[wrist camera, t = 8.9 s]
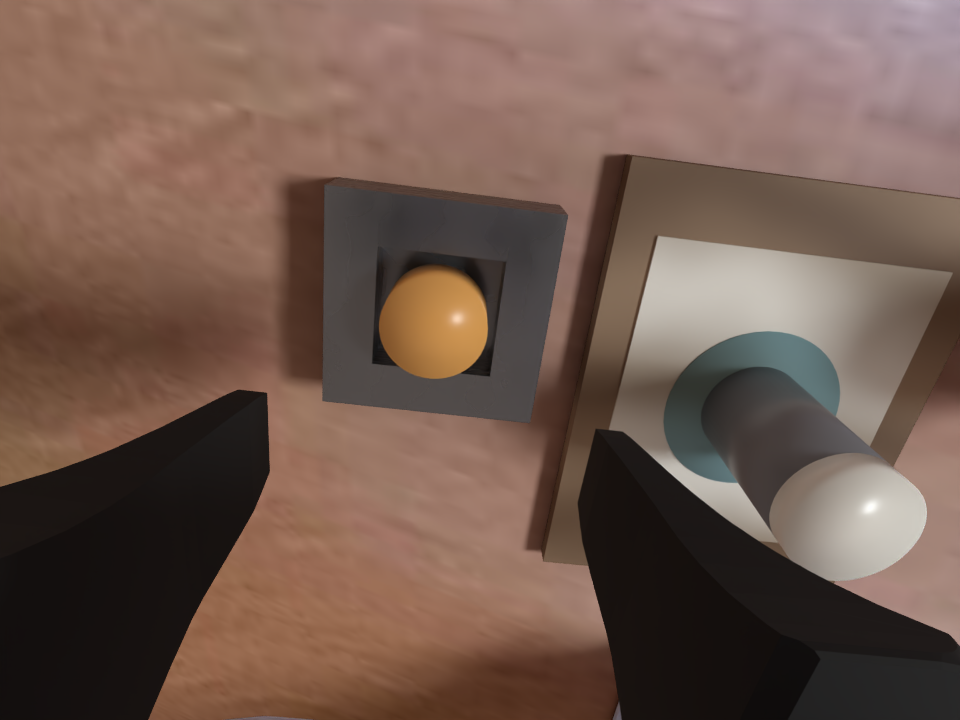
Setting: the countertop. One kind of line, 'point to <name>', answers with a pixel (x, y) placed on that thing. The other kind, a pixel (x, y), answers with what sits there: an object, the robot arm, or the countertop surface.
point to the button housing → (450, 241)
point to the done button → (434, 321)
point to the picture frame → (757, 318)
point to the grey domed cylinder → (811, 476)
